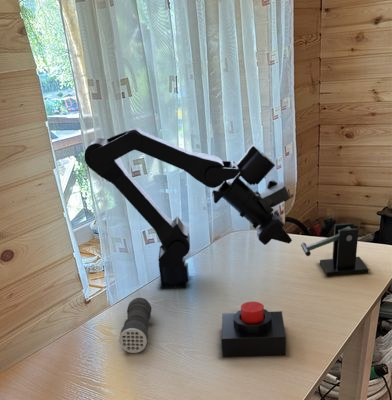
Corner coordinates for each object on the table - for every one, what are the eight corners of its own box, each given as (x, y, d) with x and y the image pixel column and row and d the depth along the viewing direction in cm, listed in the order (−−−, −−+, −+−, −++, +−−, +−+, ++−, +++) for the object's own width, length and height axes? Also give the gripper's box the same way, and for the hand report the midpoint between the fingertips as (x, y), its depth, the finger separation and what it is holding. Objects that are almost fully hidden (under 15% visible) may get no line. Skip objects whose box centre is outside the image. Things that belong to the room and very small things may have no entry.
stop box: (222, 357, 99) (220, 330, 96) (223, 331, 107) (222, 305, 104) (285, 355, 98) (285, 328, 94) (281, 329, 106) (281, 303, 103)
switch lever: (307, 259, 124) (304, 250, 122) (302, 249, 129) (299, 241, 128) (356, 240, 121) (353, 231, 120) (349, 232, 127) (347, 223, 125)
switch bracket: (326, 277, 125) (329, 234, 119) (319, 264, 132) (321, 223, 126) (368, 273, 125) (372, 230, 119) (358, 260, 132) (362, 219, 126)
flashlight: (129, 317, 116) (126, 295, 113) (153, 315, 116) (150, 293, 113) (121, 353, 103) (117, 330, 100) (148, 351, 103) (144, 328, 100)
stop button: (241, 324, 98) (240, 312, 96) (241, 313, 102) (240, 301, 100) (264, 323, 97) (264, 311, 96) (263, 312, 101) (263, 300, 100)
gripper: (274, 183, 108) (324, 229, 113) (263, 163, 124) (307, 205, 129) (238, 222, 112) (287, 265, 118) (231, 198, 128) (275, 237, 133)
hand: (290, 241), depth 124 cm, fingers closed
